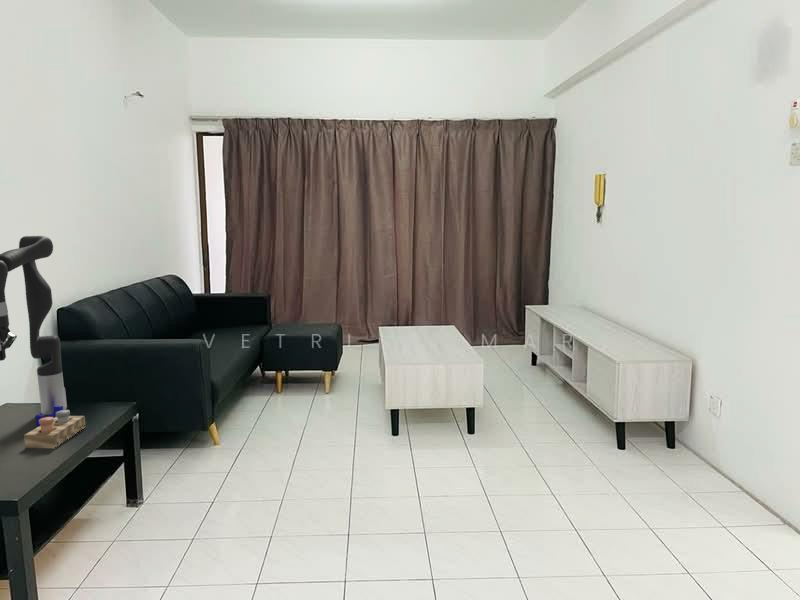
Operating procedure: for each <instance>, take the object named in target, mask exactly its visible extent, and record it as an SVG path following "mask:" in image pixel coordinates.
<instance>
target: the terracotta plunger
mask: <svg viewBox="0 0 800 600" xmlns="http://www.w3.org/2000/svg"><path fill="white" fill-rule="evenodd" d="M53 422H54V418H53V417H48V416H45V418H41V419H39V424H40V425H41V433H50V432H52V431H53V430H54V428H53Z"/></svg>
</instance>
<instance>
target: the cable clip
mask: <svg viewBox="0 0 800 600" xmlns="http://www.w3.org/2000/svg"><path fill="white" fill-rule="evenodd" d="M61 410H63V406H54V412H53V413H51V414H49V415H47V417H53V418H55V417H56V412H58V411H61ZM45 417H46V415H43V414H39V413H38V414H36V415H35V423H36V424H35V425H36V428H37V427H39V426H41V425H40V424H39V419H41V418H45Z"/></svg>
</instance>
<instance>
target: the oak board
mask: <svg viewBox="0 0 800 600" xmlns="http://www.w3.org/2000/svg"><path fill="white" fill-rule="evenodd" d="M85 416H86V415H69V420H70V421H68V422H67V423H58V420H57V417H55V418H54V422H53V428H54V430H53V431H52V432H50V433H41V426H39V427H37V426H36V428H34V429H32V430H30V431H28V432H27V433H24V434H23V436H24V437H23V439H24V445H25V449H56V448H58V447H59V446H60V444H61V443H62V444H64V443H65V442H67V441H68V440H69V438H70V437H71V438H73V437H74V436H75V435H74V434H76V433H77V432H79V431H80V432H82V431H83V430H82V429H84V428H85V427H86V426H87V425H86V417H85ZM85 429H86V428H85ZM85 429H84V430H85ZM81 430H82V431H81ZM80 432H79V433H80ZM77 434H78V433H77ZM77 434H76V435H77ZM73 435H74V436H73ZM72 436H73V437H72ZM71 438H70V439H71ZM67 439H68V440H67ZM66 440H67V441H66ZM64 441H65V442H64ZM63 442H64V443H63ZM62 444H61V445H62ZM58 445H59V446H58ZM57 446H58V447H57ZM55 447H56V448H55Z"/></svg>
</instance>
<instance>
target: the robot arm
mask: <svg viewBox="0 0 800 600" xmlns="http://www.w3.org/2000/svg"><path fill="white" fill-rule="evenodd" d="M53 252H54V243H53V241H52V240H51V238H50V237H48V236H45V235H26V236H25V235H24V236H22V237H21V238H20V239H19V243H18V247H17V248H14V249H10V250H7V251H4V252H1V253H0V362H1V361H4V360H5V359H6V358H7V355H6V350H7V349H10V348H11V347H12V345H13V344H14V342H15V341H16V339H17V338H18V337H17V334H12V332H11V330H10V329H9V326H10V320H9V319H10V318H9V312H8V305H7V301H6V300H7V299H6V292H5V290H6V283H7V280H8V274H9V272H11V271H14V270H15V269H17V268H19V267H21V266H22V270H23V278H24V286H25V288H24V289H25V300H26V307H27V308H26V309H27V315H28V324H29V325H28V326H29V349H30V350H29V351H30V355H31V357H32V358H33V359H35V360H36V359H49V358H51V360H50V361H49V362H47V363H45V364H42V365H40V366H38V367H37V368H36V373H37V374H36V376H37V383H38V385H37V386H38V392H39V402H40V411H41V415H45V416H49V414H51V413H53V412H54V406H63V410H67V408H68V404H67V394H66V392H67V391H66V388H65V385H64V384H65V383H64V376H63V375H64V374H63V364H62V351H61V349H62V348H61V347H62V346H61V345H62V343H61V339H60V337H59V336H58V335H43V336H40V331H41V327H42V325H43V323H44V321H45V319H46V317H47V316H48V314H49V313H50V310H52V307H53V295H52V294H53V293H52V289H51V286H50V284H49V283H48V281H46V280H45V278H44V277H43V275H41V273H40V271H39V270H38V267H37V263H36V261H37V260H40V259H45V258H49V257H50V256H51V255H52V254H53Z"/></svg>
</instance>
